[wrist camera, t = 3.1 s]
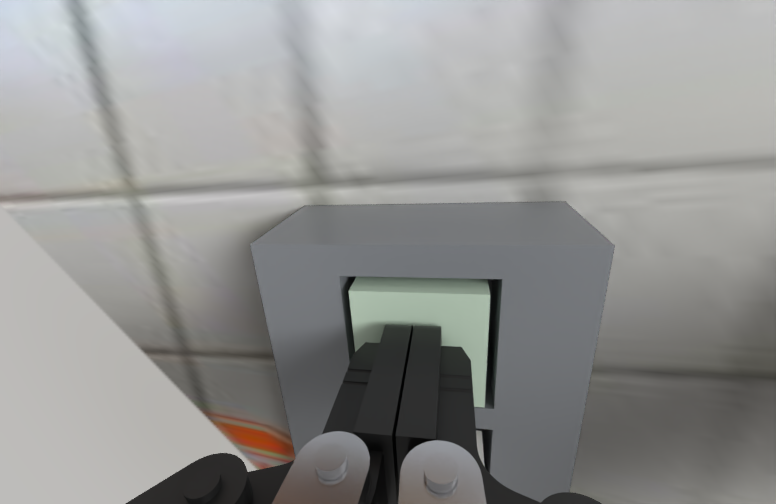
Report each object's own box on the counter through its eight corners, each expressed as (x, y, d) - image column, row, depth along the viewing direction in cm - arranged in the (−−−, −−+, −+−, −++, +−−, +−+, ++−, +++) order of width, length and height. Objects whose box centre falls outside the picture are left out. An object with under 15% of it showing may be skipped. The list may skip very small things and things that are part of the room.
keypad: (565, 201, 12) (614, 245, 8) (525, 520, 18) (544, 628, 14) (304, 205, 13) (249, 244, 10) (347, 498, 19) (323, 590, 16)
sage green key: (483, 262, 11) (490, 294, 9) (479, 361, 12) (484, 407, 10) (365, 260, 11) (348, 290, 10) (373, 355, 13) (360, 397, 11)
